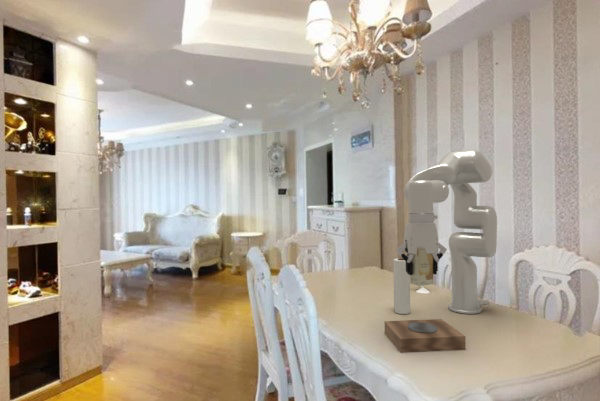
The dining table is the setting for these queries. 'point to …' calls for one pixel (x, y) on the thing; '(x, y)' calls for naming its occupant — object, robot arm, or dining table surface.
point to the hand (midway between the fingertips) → (421, 273)
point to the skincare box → (422, 268)
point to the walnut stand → (424, 335)
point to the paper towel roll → (401, 287)
